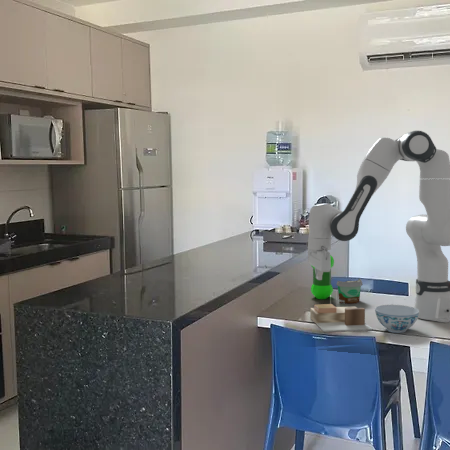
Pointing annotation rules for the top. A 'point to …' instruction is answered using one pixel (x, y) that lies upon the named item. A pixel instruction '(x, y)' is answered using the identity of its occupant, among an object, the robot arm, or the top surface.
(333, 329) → the grey mat
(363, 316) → the walnut tile
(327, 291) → the plastic bottle
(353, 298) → the food container
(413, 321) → the chinaware
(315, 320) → the birch deck
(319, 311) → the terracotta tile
